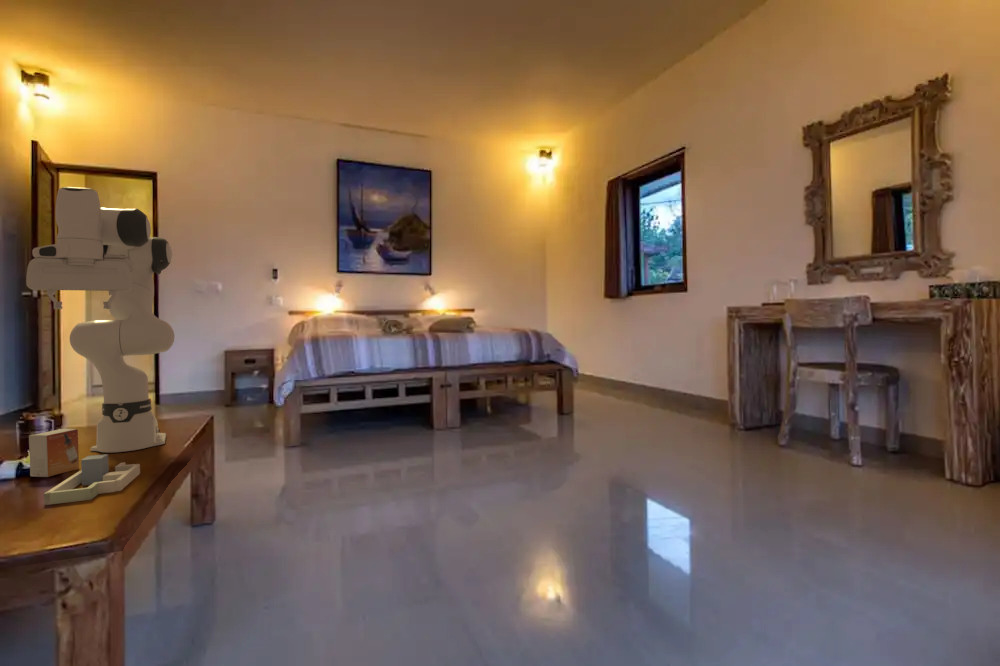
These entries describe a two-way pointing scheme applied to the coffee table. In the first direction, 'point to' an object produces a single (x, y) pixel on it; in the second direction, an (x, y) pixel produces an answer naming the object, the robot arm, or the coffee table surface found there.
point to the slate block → (94, 468)
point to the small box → (53, 452)
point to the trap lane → (92, 485)
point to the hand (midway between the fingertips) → (83, 309)
